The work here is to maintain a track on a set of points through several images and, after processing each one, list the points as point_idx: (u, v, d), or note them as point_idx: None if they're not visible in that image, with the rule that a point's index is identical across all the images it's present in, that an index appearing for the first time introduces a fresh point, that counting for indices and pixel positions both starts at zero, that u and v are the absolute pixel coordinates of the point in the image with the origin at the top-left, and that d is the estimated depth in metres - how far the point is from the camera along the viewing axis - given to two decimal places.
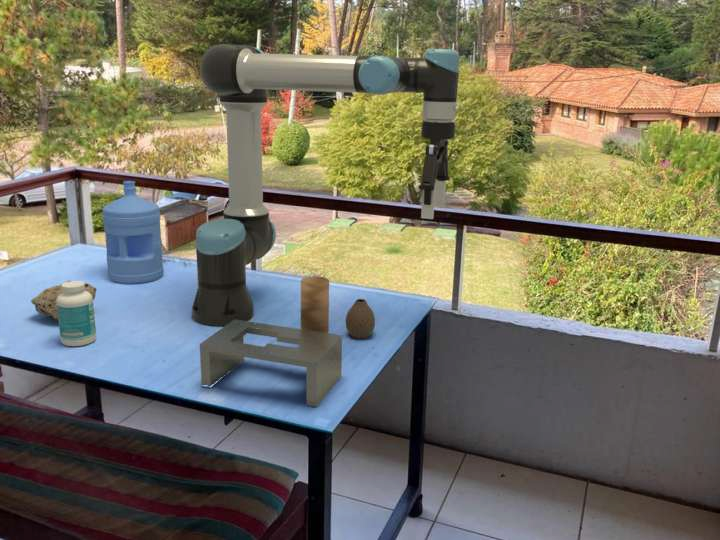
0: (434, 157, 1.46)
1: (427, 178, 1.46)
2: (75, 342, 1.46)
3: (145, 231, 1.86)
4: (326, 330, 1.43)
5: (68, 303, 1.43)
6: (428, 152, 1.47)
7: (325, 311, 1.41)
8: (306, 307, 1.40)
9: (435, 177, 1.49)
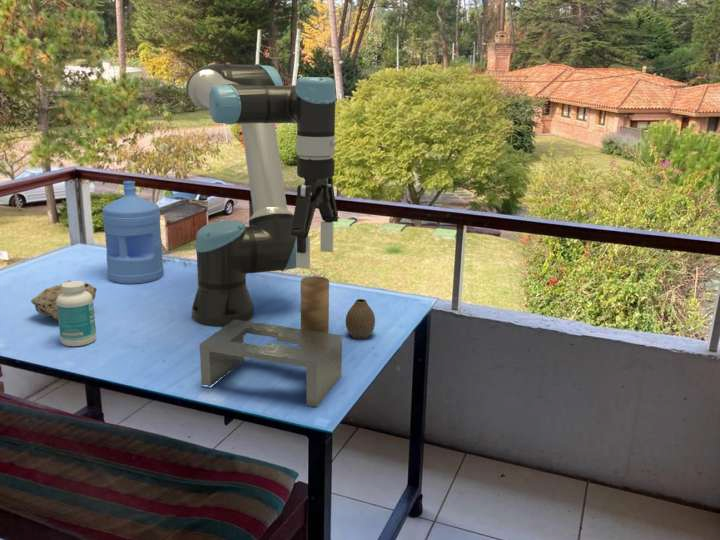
0: (306, 200, 1.29)
1: (298, 224, 1.28)
2: (75, 342, 1.46)
3: (145, 231, 1.86)
4: (326, 330, 1.43)
5: (68, 303, 1.43)
6: (300, 194, 1.29)
7: (325, 311, 1.41)
8: (306, 307, 1.40)
9: (310, 222, 1.31)
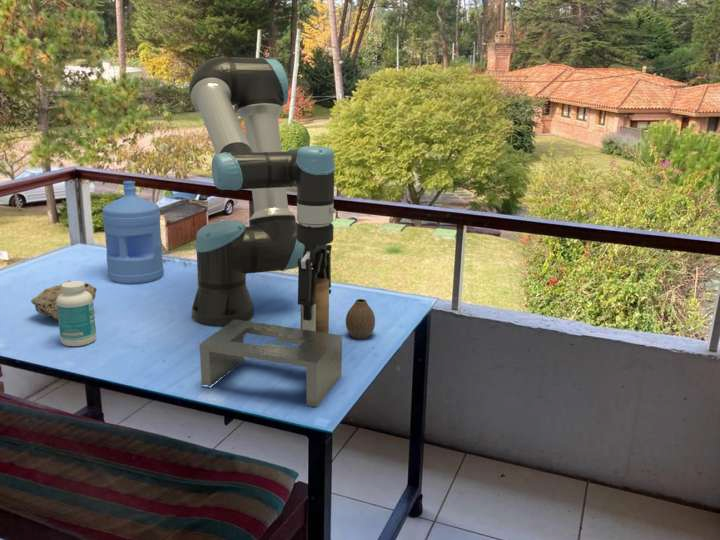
0: (308, 272, 1.34)
1: (303, 295, 1.35)
2: (75, 342, 1.46)
3: (145, 231, 1.86)
4: (326, 330, 1.43)
5: (68, 303, 1.43)
6: (301, 267, 1.34)
7: (325, 311, 1.41)
8: None
9: (314, 290, 1.38)
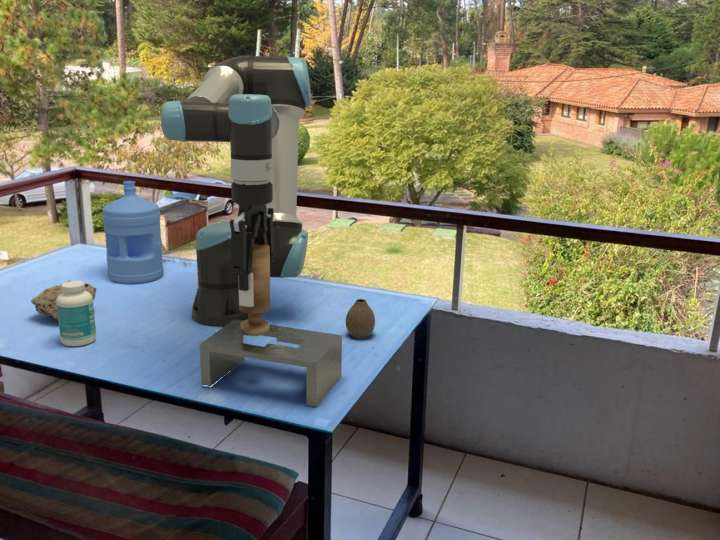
0: (241, 236, 1.19)
1: (237, 262, 1.20)
2: (75, 342, 1.46)
3: (145, 231, 1.86)
4: (267, 302, 1.28)
5: (68, 303, 1.43)
6: (234, 230, 1.19)
7: (265, 281, 1.26)
8: None
9: (250, 256, 1.23)
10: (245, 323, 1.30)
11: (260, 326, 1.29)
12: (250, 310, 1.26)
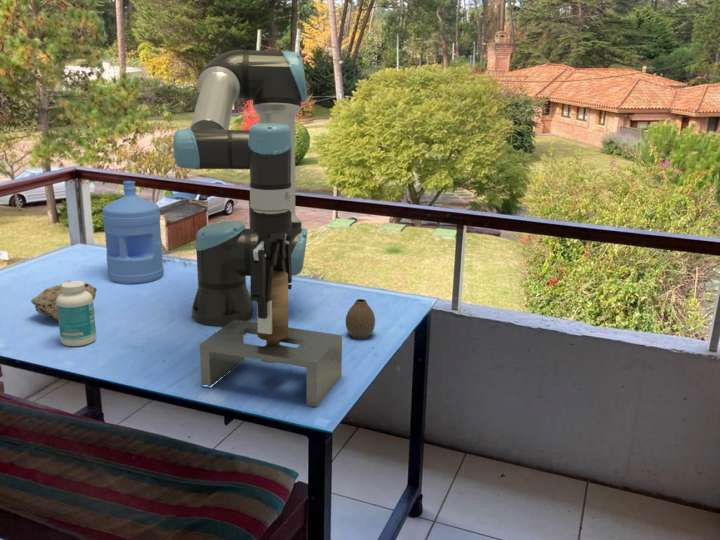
0: (261, 265, 1.19)
1: (256, 290, 1.21)
2: (75, 342, 1.46)
3: (145, 231, 1.86)
4: (285, 329, 1.28)
5: (68, 303, 1.43)
6: (253, 259, 1.19)
7: (283, 309, 1.26)
8: None
9: (269, 285, 1.23)
10: None
11: None
12: (268, 337, 1.27)
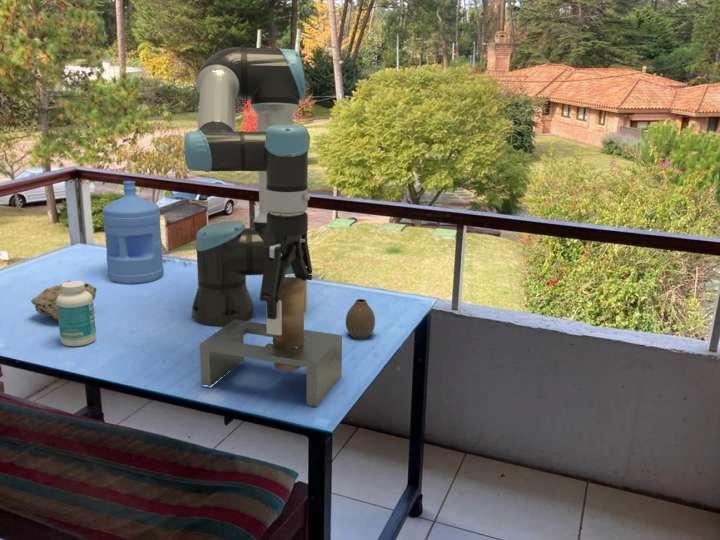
0: (276, 262, 1.17)
1: (267, 289, 1.17)
2: (75, 342, 1.46)
3: (145, 231, 1.86)
4: (301, 337, 1.28)
5: (68, 303, 1.43)
6: (269, 255, 1.18)
7: (299, 316, 1.26)
8: None
9: (281, 285, 1.20)
10: None
11: None
12: (284, 345, 1.26)
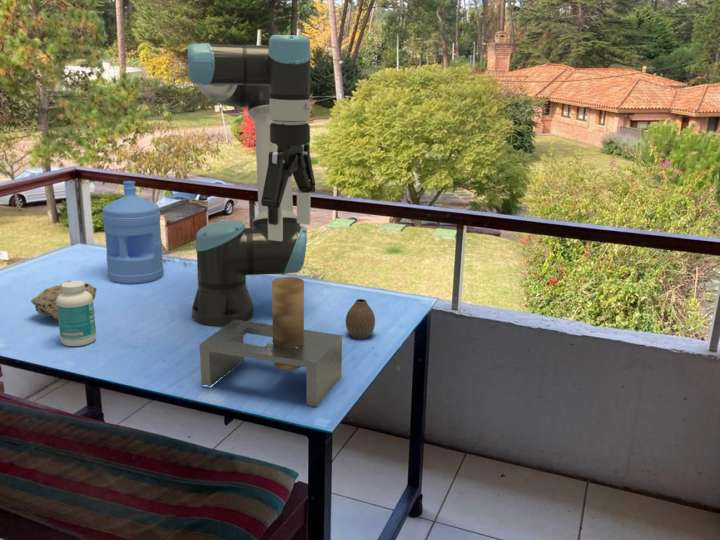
0: (278, 167, 1.20)
1: (269, 193, 1.20)
2: (75, 342, 1.46)
3: (145, 231, 1.86)
4: (301, 337, 1.28)
5: (68, 303, 1.43)
6: (271, 161, 1.21)
7: (299, 316, 1.26)
8: (278, 311, 1.25)
9: (282, 191, 1.23)
10: None
11: None
12: (284, 345, 1.26)
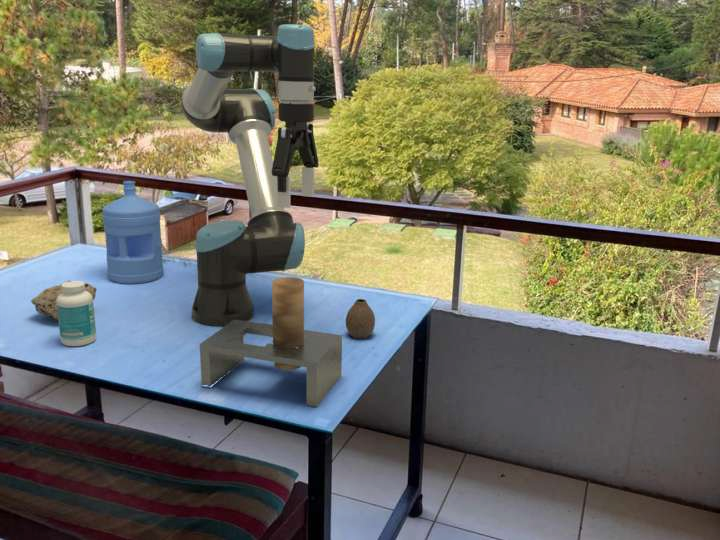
0: (286, 141, 1.36)
1: (278, 163, 1.36)
2: (75, 342, 1.46)
3: (145, 231, 1.86)
4: (301, 337, 1.28)
5: (68, 303, 1.43)
6: (280, 135, 1.37)
7: (299, 316, 1.26)
8: (278, 311, 1.25)
9: (290, 162, 1.38)
10: None
11: None
12: (284, 345, 1.26)
